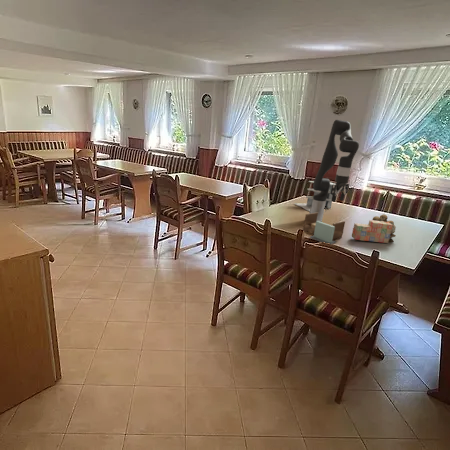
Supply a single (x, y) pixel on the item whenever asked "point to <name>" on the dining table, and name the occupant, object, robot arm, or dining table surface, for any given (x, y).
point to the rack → (312, 219)
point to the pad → (321, 240)
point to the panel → (324, 231)
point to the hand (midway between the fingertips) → (337, 200)
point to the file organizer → (310, 198)
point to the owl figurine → (384, 218)
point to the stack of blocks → (372, 231)
